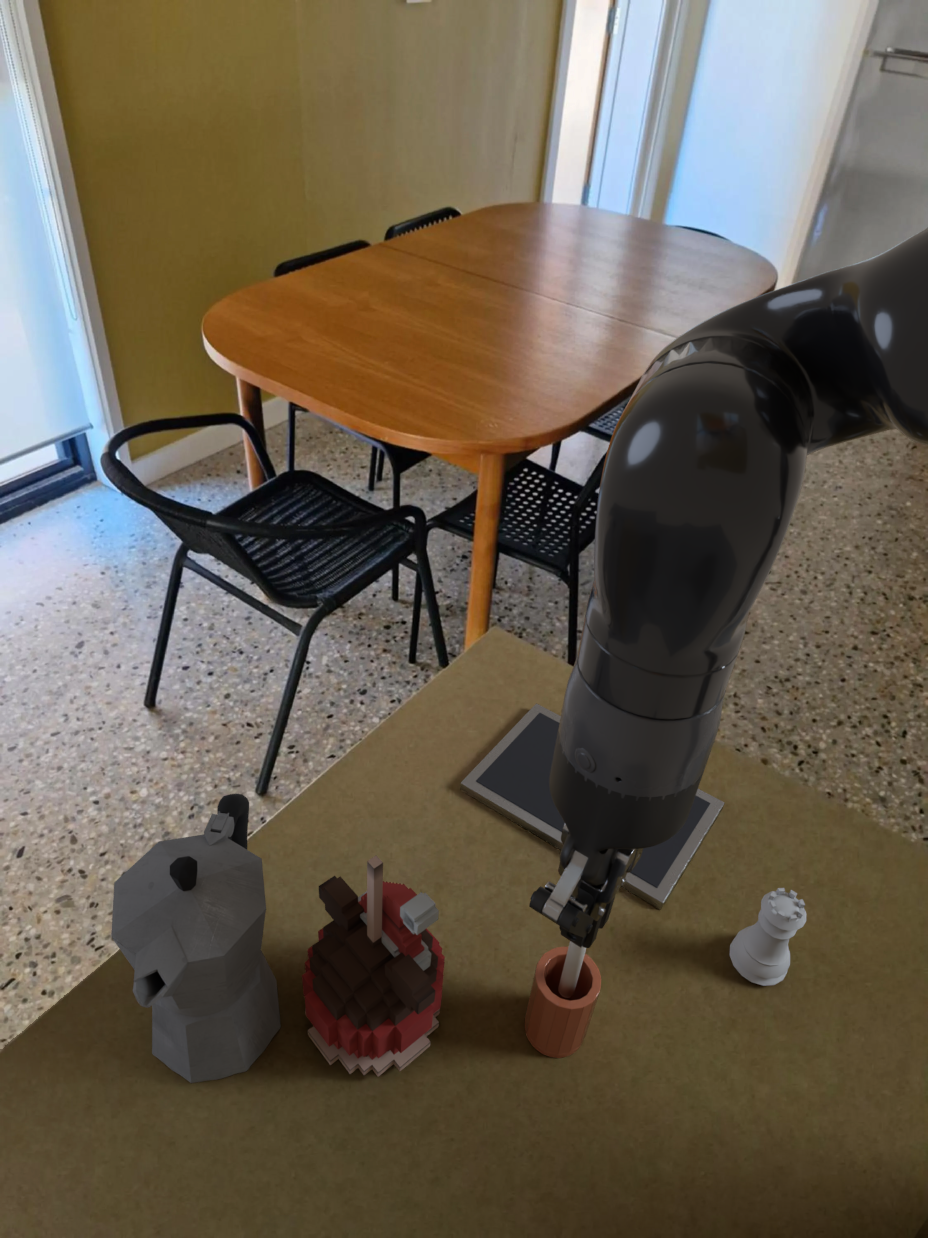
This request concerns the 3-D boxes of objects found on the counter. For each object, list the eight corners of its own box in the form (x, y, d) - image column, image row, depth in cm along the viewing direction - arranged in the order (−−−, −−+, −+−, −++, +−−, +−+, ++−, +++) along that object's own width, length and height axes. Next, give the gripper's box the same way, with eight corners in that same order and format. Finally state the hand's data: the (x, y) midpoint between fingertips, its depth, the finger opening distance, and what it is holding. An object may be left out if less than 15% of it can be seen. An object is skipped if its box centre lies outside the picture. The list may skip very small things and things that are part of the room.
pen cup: (596, 1021, 64) (612, 971, 60) (565, 1071, 61) (580, 1022, 57) (544, 986, 66) (556, 934, 62) (512, 1033, 63) (523, 982, 59)
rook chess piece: (716, 957, 69) (743, 898, 64) (750, 925, 71) (779, 866, 66) (764, 1001, 66) (796, 943, 61) (797, 966, 69) (831, 908, 64)
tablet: (722, 809, 80) (725, 801, 80) (660, 910, 72) (663, 902, 71) (535, 710, 89) (536, 702, 88) (459, 789, 80) (460, 781, 79)
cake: (277, 997, 64) (257, 844, 53) (380, 923, 69) (382, 769, 58) (366, 1118, 58) (365, 975, 47) (471, 1027, 63) (494, 879, 52)
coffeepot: (250, 1129, 57) (221, 987, 46) (110, 1103, 58) (47, 956, 46) (316, 919, 69) (305, 764, 58) (199, 899, 70) (166, 742, 58)
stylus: (576, 991, 61) (607, 878, 52) (568, 1004, 60) (599, 891, 52) (562, 982, 61) (591, 868, 53) (554, 994, 60) (582, 881, 52)
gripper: (641, 863, 38) (582, 1051, 49) (753, 694, 47) (682, 884, 58) (497, 780, 42) (472, 974, 53) (628, 636, 51) (583, 827, 61)
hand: (583, 926), depth 55 cm, fingers closed on stylus, 1 cm apart
